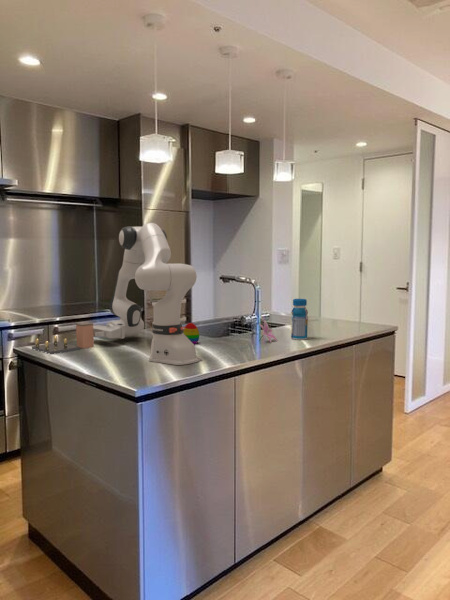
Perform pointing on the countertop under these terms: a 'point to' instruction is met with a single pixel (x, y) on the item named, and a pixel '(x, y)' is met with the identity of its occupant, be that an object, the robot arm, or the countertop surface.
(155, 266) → the robot arm
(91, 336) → the block
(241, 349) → the countertop surface
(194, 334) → the decorative egg
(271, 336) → the lily
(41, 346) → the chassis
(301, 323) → the beverage bottle
